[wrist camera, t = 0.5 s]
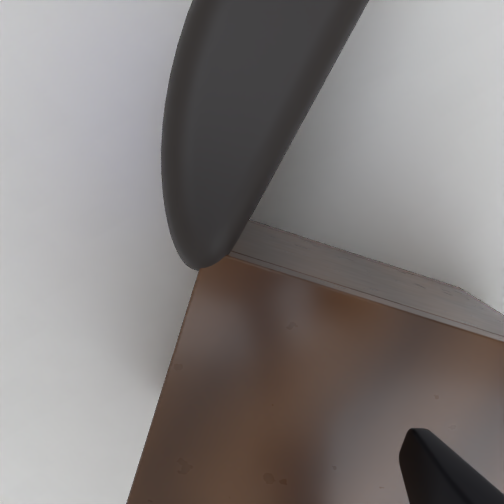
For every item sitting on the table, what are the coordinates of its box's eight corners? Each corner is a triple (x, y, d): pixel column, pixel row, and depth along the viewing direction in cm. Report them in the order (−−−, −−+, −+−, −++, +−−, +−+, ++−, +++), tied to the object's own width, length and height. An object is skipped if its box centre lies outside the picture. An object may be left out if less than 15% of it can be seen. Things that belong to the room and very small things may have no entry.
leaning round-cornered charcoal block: (285, -140, 18) (374, -414, 9) (369, -75, 19) (523, -259, 10) (130, 187, 21) (80, 231, 12) (210, 227, 22) (218, 293, 13)
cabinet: (460, 287, 24) (590, 368, 15) (380, 456, 26) (450, 610, 17) (220, 210, 22) (205, 248, 13) (162, 396, 25) (117, 531, 16)
